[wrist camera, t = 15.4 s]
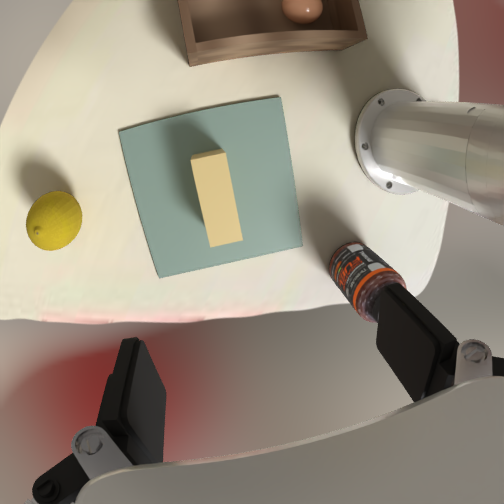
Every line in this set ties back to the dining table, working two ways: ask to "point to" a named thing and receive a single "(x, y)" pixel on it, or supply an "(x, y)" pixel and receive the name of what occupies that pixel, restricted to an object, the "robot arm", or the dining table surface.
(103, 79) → the dining table surface
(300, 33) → the box
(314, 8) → the ball
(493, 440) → the robot arm
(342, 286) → the supplement bottle
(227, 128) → the lid
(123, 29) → the dining table surface
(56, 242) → the lemon
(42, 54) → the dining table surface
